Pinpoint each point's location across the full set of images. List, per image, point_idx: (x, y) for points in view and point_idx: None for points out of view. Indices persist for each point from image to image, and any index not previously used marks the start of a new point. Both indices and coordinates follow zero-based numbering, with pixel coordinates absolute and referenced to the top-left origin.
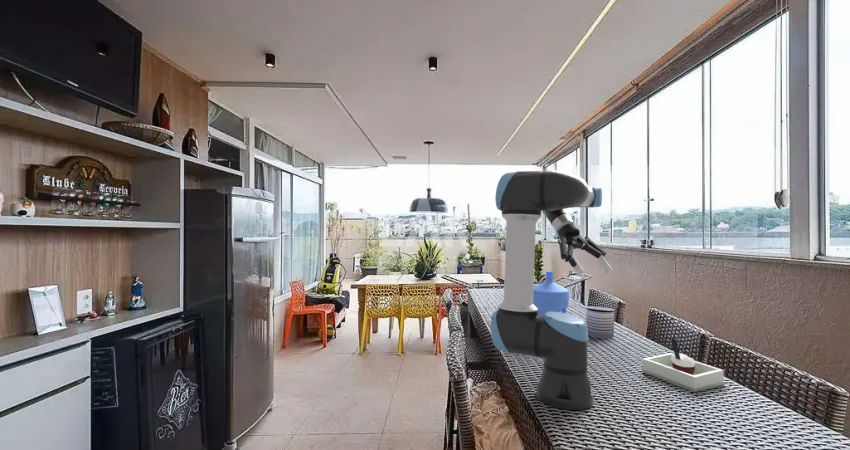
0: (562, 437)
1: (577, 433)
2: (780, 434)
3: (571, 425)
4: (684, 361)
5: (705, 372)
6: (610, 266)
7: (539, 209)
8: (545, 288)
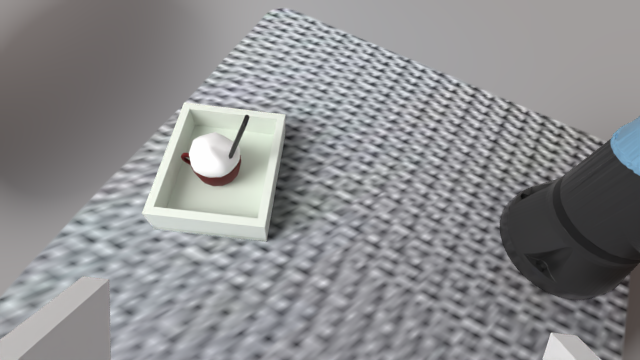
0: None
1: None
2: (328, 38)
3: None
4: (231, 142)
5: (185, 140)
6: (57, 300)
7: None
8: None
